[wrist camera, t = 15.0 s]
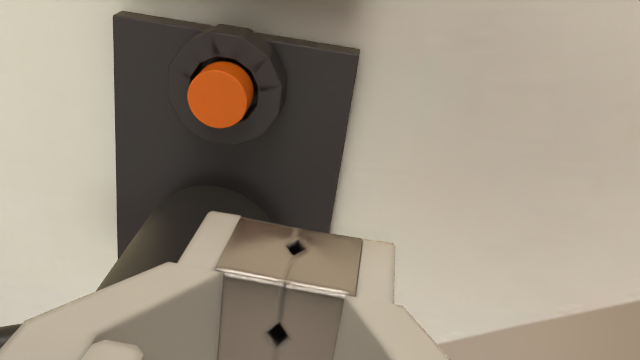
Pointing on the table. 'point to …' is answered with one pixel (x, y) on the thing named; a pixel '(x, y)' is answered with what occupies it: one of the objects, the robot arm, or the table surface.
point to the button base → (238, 140)
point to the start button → (220, 94)
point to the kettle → (170, 232)
